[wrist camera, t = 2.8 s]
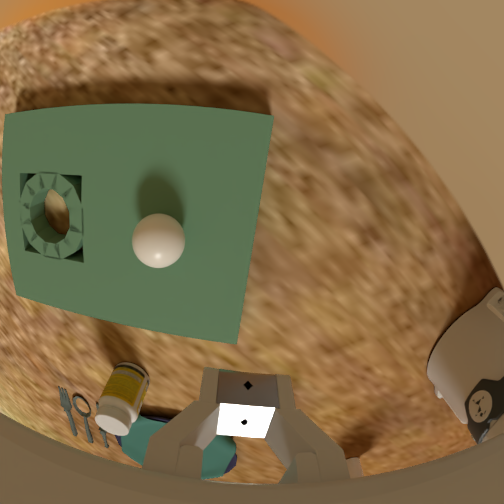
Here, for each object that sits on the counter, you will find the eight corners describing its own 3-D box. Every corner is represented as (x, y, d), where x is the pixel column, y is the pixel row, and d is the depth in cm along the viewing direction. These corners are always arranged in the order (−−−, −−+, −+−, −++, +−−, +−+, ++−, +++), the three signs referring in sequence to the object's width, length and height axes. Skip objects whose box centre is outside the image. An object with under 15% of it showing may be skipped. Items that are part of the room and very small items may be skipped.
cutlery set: (224, 477, 43) (223, 487, 41) (75, 433, 41) (70, 441, 39) (252, 426, 36) (251, 438, 34) (55, 366, 34) (48, 376, 32)
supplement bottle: (108, 361, 32) (83, 410, 24) (140, 359, 31) (117, 412, 23) (125, 388, 33) (105, 436, 25) (156, 387, 33) (139, 439, 25)
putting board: (271, 118, 22) (274, 115, 20) (237, 328, 29) (236, 344, 27) (20, 114, 21) (5, 114, 18) (27, 285, 28) (16, 295, 26)
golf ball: (192, 211, 22) (180, 225, 19) (188, 259, 24) (176, 281, 20) (143, 205, 22) (123, 218, 18) (142, 252, 24) (124, 272, 20)
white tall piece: (376, 450, 40) (395, 517, 26) (359, 467, 42) (374, 529, 28) (341, 453, 39) (356, 526, 26) (326, 470, 42) (337, 536, 28)
